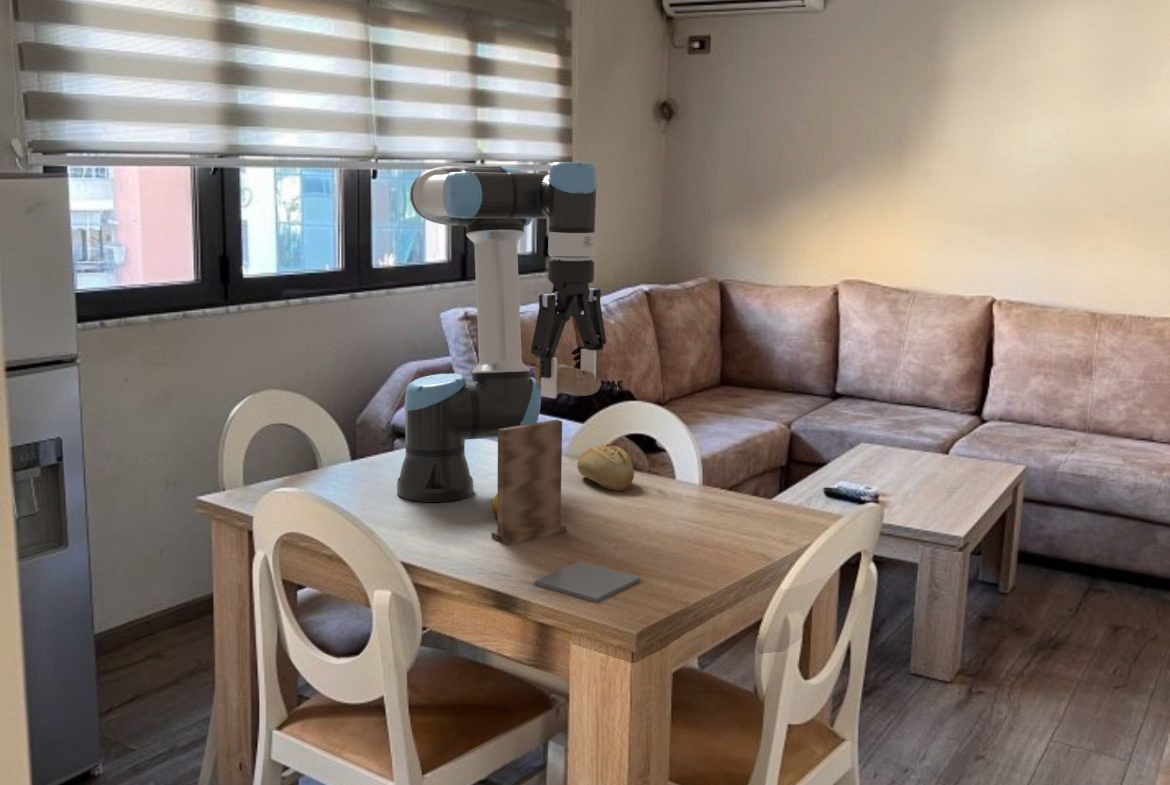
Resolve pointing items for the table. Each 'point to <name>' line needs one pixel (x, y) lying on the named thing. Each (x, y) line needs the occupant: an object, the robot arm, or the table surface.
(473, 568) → the table surface
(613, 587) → the pad
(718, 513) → the table surface
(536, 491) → the board
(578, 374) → the stone
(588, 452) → the bread roll
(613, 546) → the table surface
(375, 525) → the table surface
